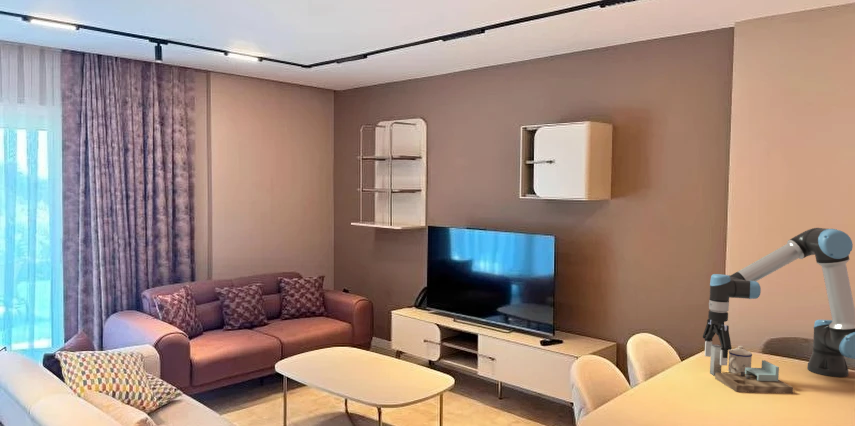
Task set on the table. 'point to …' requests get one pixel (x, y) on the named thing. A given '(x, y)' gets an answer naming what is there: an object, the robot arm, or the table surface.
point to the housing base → (752, 383)
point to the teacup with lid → (739, 360)
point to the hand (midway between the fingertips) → (715, 360)
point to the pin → (715, 359)
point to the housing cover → (765, 372)
